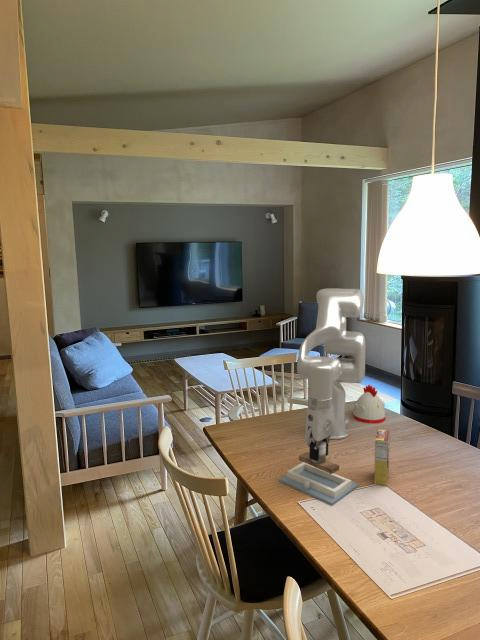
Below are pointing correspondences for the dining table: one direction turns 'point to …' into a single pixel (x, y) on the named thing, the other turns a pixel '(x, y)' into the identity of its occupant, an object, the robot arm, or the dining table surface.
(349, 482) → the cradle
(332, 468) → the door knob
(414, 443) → the dining table surface
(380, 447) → the candy box
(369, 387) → the kitchen timer
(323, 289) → the robot arm
